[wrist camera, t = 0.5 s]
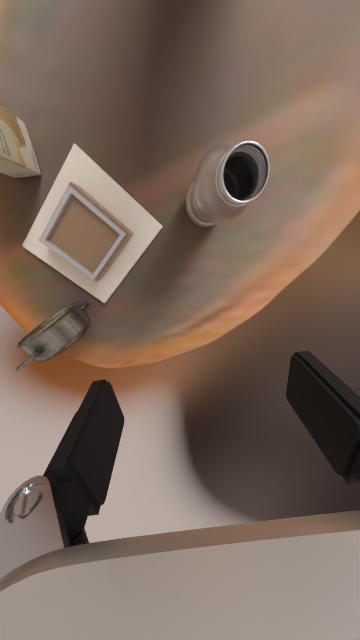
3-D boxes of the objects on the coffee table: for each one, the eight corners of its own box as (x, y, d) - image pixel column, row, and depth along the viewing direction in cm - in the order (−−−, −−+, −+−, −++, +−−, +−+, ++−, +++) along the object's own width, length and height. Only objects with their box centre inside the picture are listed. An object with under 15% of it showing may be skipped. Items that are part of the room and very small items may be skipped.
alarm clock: (86, 293, 38) (32, 334, 23) (104, 314, 40) (65, 365, 25) (45, 319, 40) (-29, 372, 25) (64, 338, 42) (7, 398, 27)
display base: (77, 146, 28) (60, 131, 24) (163, 226, 33) (161, 226, 29) (26, 245, 33) (4, 248, 29) (106, 301, 38) (97, 311, 34)
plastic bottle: (189, 231, 34) (209, 235, 15) (180, 185, 31) (192, 125, 13) (225, 221, 33) (290, 214, 15) (220, 174, 30) (291, 95, 12)
